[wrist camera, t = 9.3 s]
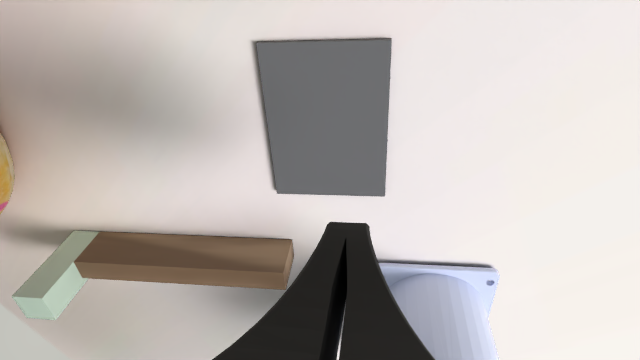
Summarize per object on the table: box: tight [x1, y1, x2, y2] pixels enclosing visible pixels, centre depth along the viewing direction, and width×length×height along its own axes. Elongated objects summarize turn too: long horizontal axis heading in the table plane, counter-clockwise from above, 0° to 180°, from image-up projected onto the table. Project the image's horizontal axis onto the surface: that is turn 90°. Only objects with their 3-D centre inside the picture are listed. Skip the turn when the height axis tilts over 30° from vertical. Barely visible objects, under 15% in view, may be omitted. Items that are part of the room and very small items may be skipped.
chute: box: [12, 231, 294, 320], centre depth 21 cm, size 21×16×6 cm
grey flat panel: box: [256, 38, 391, 196], centre depth 22 cm, size 9×6×1 cm
